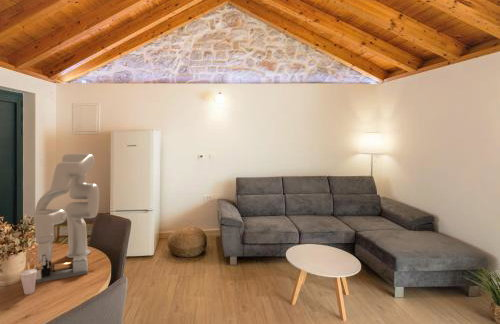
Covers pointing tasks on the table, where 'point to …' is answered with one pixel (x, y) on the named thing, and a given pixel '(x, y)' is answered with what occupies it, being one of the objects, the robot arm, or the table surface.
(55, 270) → the tube
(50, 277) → the board
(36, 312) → the table surface
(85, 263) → the sleeve
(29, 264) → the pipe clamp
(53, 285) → the table surface
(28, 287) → the smoothie
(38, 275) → the light grey u-shaped block
